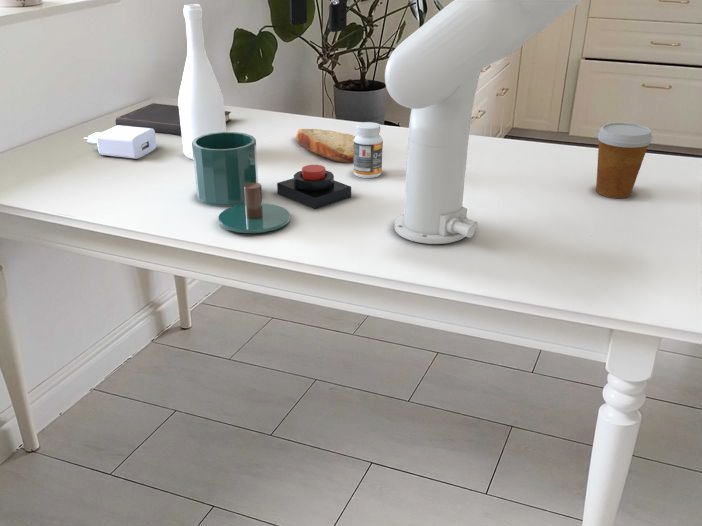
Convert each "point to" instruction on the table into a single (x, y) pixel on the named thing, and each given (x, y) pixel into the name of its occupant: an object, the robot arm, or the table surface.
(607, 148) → the disposable coffee cup
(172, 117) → the hardcover book
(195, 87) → the wine bottle
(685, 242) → the table surface
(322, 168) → the release button
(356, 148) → the pill bottle
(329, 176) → the button housing
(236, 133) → the canister
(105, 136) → the charger
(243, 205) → the lid
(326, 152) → the bread slice
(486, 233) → the table surface
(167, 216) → the table surface
